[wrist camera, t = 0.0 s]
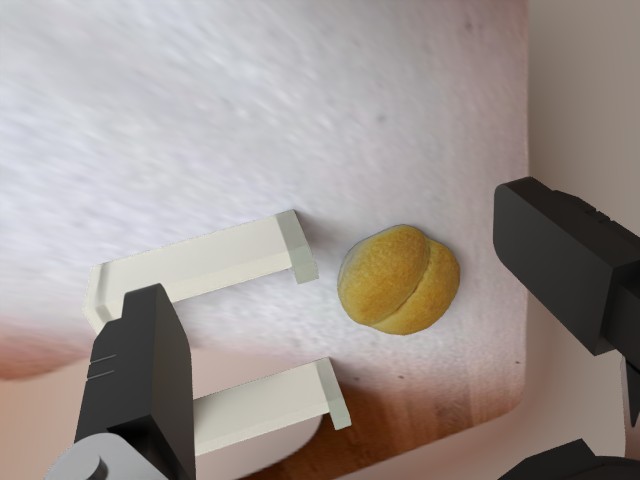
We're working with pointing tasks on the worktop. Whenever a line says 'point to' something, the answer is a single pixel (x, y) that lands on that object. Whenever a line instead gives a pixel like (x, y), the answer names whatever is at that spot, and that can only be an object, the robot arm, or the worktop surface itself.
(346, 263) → the bread roll
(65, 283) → the worktop surface
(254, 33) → the worktop surface
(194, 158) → the worktop surface
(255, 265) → the holder
